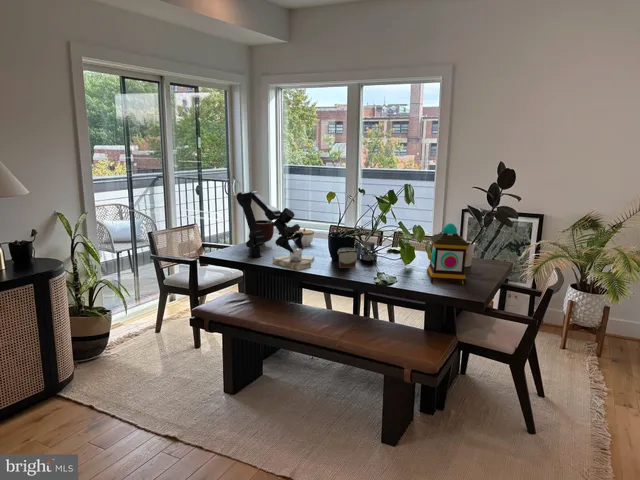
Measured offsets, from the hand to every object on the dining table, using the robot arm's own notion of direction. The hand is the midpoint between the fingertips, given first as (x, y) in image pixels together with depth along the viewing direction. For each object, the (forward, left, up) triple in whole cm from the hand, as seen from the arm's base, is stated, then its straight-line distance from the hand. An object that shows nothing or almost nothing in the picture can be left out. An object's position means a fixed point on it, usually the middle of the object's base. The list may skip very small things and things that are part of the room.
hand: (297, 250), depth 263 cm
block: (-6, +13, -9) cm, 17 cm away
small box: (+15, +41, -9) cm, 45 cm away
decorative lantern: (+69, +39, -9) cm, 80 cm away
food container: (+17, +21, -9) cm, 29 cm away
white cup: (-1, 0, -9) cm, 9 cm away
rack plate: (-5, 0, -9) cm, 10 cm away
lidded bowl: (-35, +42, -9) cm, 56 cm away
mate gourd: (-45, +15, -9) cm, 48 cm away
